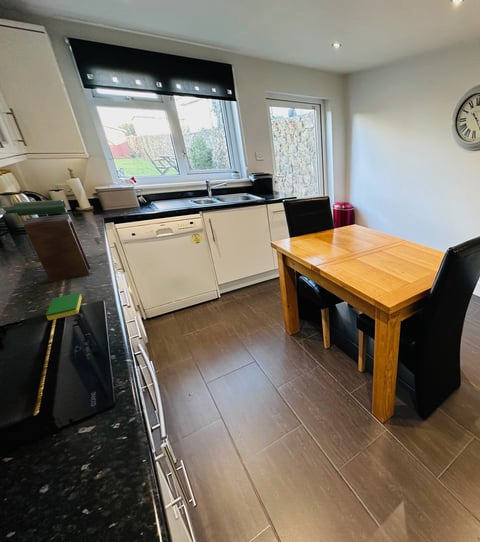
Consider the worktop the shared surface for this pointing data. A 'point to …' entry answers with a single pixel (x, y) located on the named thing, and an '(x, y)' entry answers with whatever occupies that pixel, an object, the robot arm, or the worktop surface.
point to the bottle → (36, 207)
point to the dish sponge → (64, 306)
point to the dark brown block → (57, 246)
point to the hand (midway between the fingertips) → (5, 208)
